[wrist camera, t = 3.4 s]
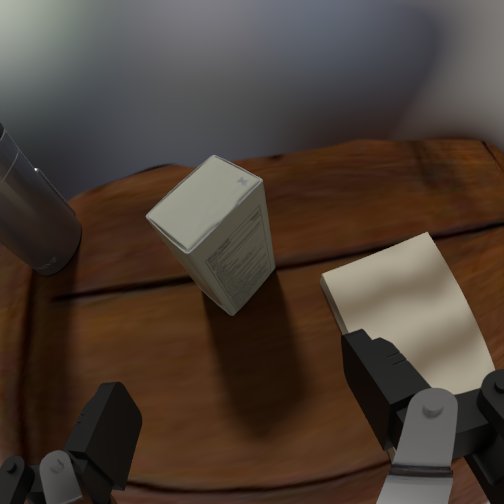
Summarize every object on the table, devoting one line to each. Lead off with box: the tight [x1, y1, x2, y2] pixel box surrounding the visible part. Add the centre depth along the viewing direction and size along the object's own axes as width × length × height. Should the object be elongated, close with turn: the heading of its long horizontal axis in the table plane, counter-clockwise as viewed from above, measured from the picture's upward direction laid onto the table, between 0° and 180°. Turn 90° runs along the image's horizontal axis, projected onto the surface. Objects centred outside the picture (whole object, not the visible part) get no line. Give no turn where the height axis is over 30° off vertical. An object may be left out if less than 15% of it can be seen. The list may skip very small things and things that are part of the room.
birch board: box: [320, 232, 495, 463], centre depth 20 cm, size 20×12×2 cm, turn 18°
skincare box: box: [146, 155, 275, 316], centre depth 21 cm, size 6×4×12 cm
